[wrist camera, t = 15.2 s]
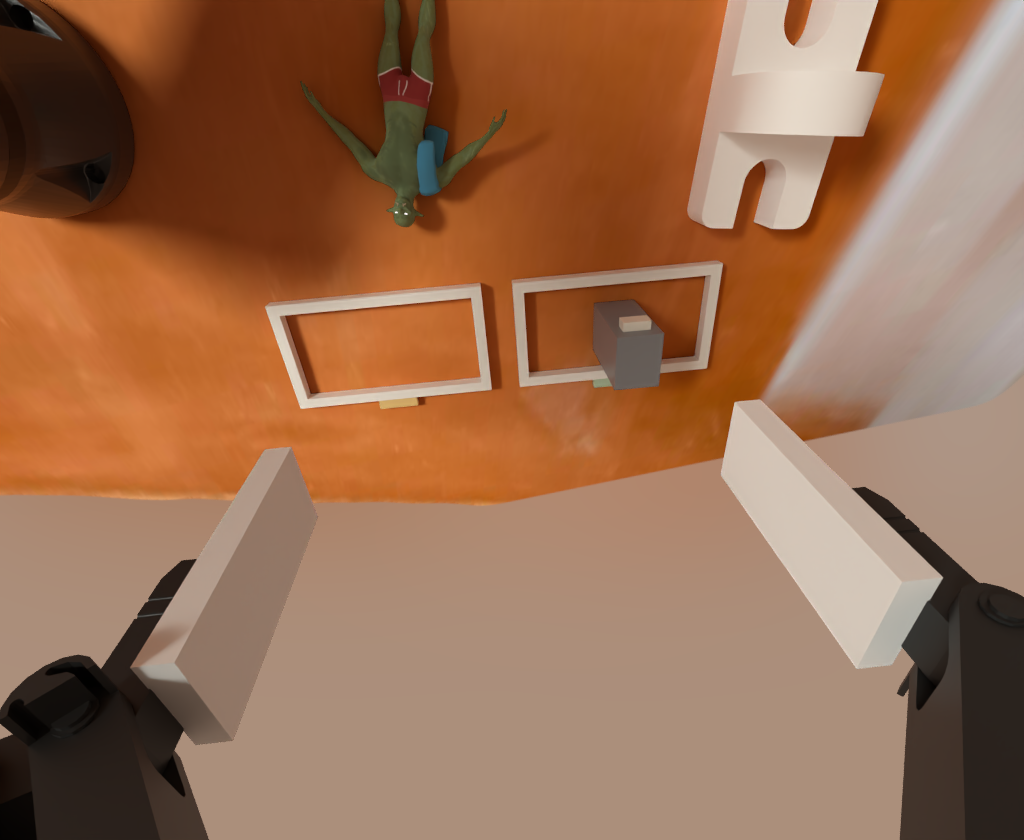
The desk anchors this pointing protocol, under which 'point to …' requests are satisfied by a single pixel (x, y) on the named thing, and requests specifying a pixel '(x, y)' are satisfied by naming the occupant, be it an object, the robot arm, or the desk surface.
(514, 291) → the socket
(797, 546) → the robot arm
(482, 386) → the socket
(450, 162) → the figurine
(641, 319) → the plug
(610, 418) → the desk surface
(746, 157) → the white slotted bracket
